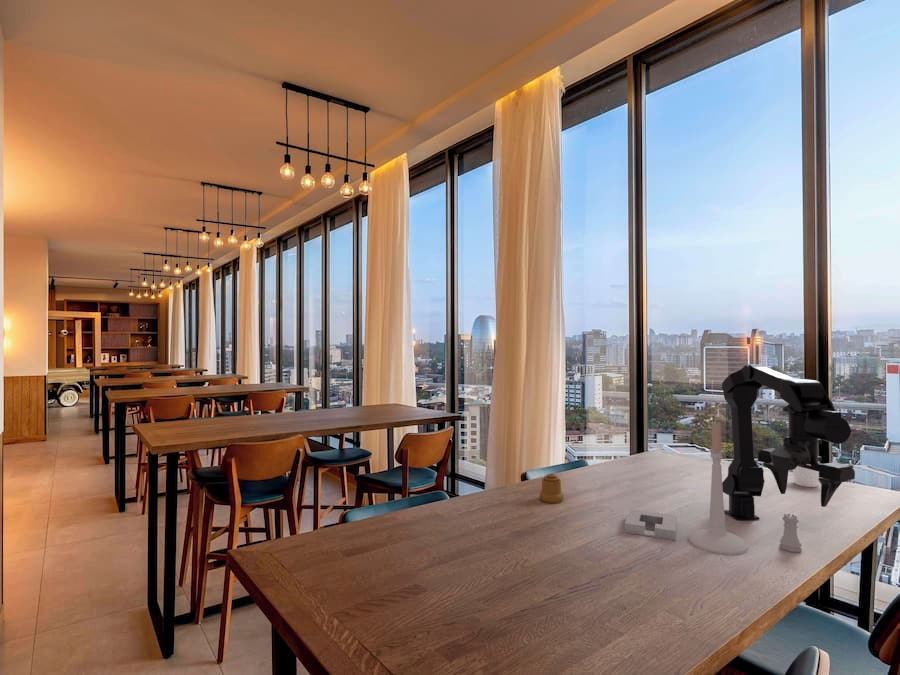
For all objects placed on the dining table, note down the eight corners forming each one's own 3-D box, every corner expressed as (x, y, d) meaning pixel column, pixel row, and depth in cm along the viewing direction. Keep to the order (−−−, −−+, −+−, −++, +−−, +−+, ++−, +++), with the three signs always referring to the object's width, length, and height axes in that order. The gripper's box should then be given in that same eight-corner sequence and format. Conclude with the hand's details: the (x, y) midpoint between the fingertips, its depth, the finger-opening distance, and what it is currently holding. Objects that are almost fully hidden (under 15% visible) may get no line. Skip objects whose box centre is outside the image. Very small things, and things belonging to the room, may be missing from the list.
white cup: (786, 482, 172) (786, 454, 172) (800, 480, 175) (800, 452, 175) (811, 488, 164) (811, 459, 165) (825, 486, 168) (824, 456, 168)
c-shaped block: (629, 517, 138) (629, 509, 138) (676, 524, 132) (676, 515, 133) (624, 532, 127) (624, 523, 127) (675, 540, 122) (675, 530, 122)
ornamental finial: (554, 495, 158) (568, 502, 151) (534, 498, 155) (547, 505, 148) (554, 470, 158) (568, 476, 151) (534, 472, 155) (547, 479, 149)
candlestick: (676, 537, 124) (675, 419, 124) (714, 530, 128) (713, 416, 129) (720, 558, 112) (719, 427, 112) (760, 549, 116) (759, 424, 117)
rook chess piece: (792, 554, 114) (791, 519, 114) (774, 546, 118) (774, 513, 118) (806, 551, 115) (806, 517, 115) (789, 544, 119) (788, 511, 119)
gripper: (742, 429, 120) (741, 491, 120) (823, 445, 103) (823, 519, 103) (773, 425, 124) (772, 486, 124) (856, 441, 107) (856, 511, 107)
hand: (802, 499), depth 115 cm, fingers open, 9 cm apart
